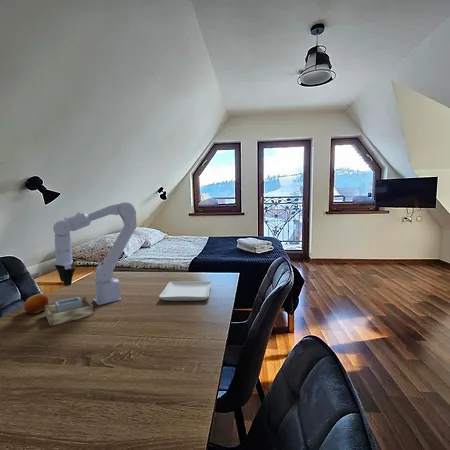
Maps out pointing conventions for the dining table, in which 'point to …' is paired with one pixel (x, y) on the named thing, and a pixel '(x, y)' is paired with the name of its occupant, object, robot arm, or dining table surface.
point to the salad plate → (186, 291)
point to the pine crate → (68, 313)
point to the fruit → (36, 303)
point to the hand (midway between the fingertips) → (65, 283)
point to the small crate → (68, 304)
